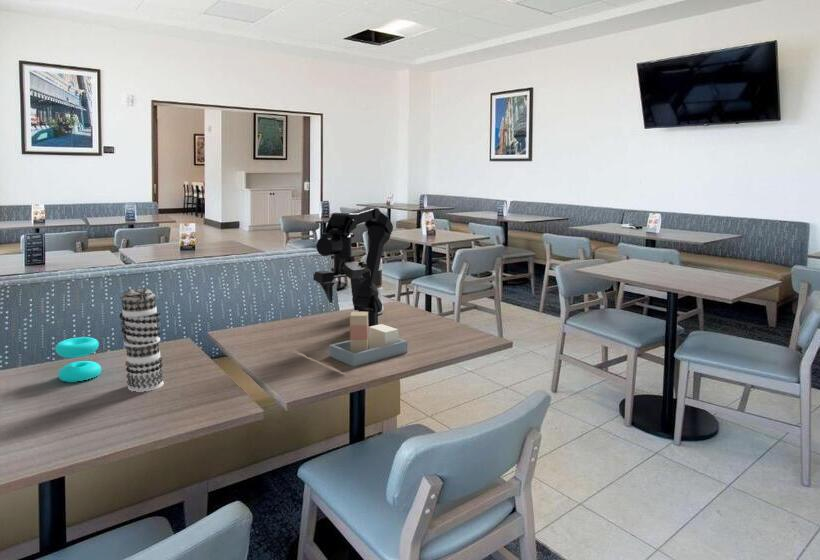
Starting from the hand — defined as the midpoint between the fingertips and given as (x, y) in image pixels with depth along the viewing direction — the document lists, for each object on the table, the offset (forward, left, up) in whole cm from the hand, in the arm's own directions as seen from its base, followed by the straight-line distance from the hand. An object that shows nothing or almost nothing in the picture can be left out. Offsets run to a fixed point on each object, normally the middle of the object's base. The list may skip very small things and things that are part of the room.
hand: (342, 300), depth 187 cm
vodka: (-29, -22, -13) cm, 39 cm away
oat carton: (+7, +19, -12) cm, 24 cm away
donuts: (+73, -17, -13) cm, 76 cm away
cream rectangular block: (-2, +19, -12) cm, 23 cm away
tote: (+4, +19, -13) cm, 23 cm away
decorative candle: (+62, +1, -13) cm, 63 cm away
